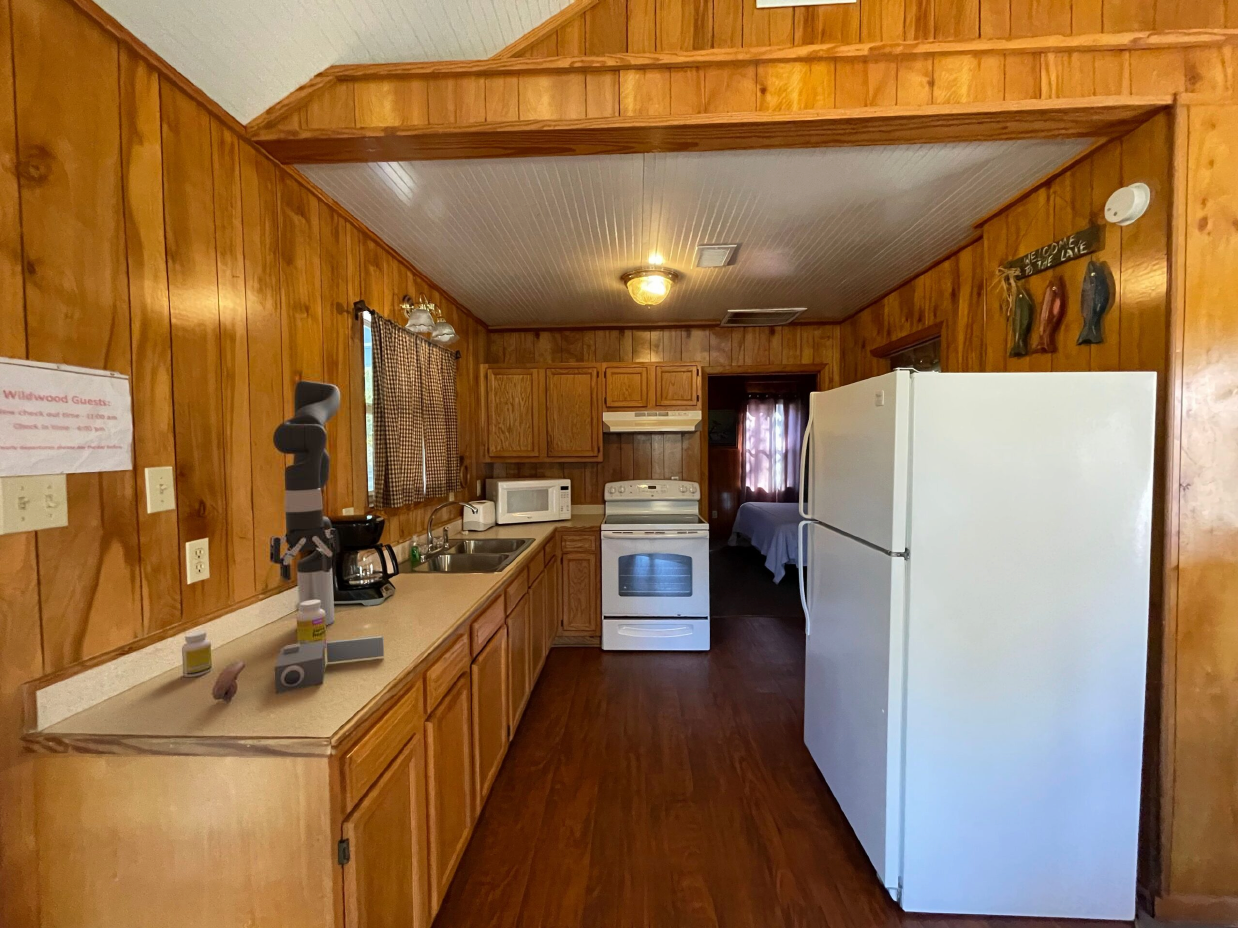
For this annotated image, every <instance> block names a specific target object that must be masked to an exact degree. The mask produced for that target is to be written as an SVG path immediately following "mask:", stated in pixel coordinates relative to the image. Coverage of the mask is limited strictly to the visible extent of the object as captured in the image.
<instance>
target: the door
mask: <svg viewBox="0 0 1238 928" xmlns="http://www.w3.org/2000/svg"><path fill="white" fill-rule="evenodd" d="M384 647H385V646H384V636H383V635H382V636H381V635H380V636H372V637H364V638H363V637H362V638H353V639H351V638H350V639H343V640H332V641H326V658H327V660H326V662H327V663H329V664H330V663H336V662H345V661H354V660H362V659H371V658H373V659H374V658H381V657H384V656H385V651H384Z"/></svg>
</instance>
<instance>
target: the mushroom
mask: <svg viewBox="0 0 1238 928" xmlns="http://www.w3.org/2000/svg"><path fill="white" fill-rule="evenodd" d="M245 667H246V664H245V662H243V661H241V660H240V661H234V662H232V663H230V664H228V665H227V666H226V667H225V668H224V669H223V670H222V671H221V672H220V674H219V675H218V677H217V679H216V681H215V684H214V685H213V687H212V692H211V695H212V697H213V699H215V701H216V700H217V701H220V700H222V701H224V702H225V703H227V704H228V703H230V702H231V701H232V699H233V698H234V696H235V695H236V693H237V690H238V688H239V687H238V682H237V681H236V680H237V678H238V676H239V675H240V673H241V672H242V671H243V669H245Z"/></svg>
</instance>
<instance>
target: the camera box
mask: <svg viewBox="0 0 1238 928" xmlns="http://www.w3.org/2000/svg"><path fill="white" fill-rule="evenodd" d="M325 647H326V646H325V645H324V641H318V642H313V643H307V644H301V645H300V643H298V642H297V643H293V644H289V645H285V646H284V647H281V649H280V651H279V654H278V656H277V660H276V662H275V665H274V674H275V675H274V678H275V694H279V693H284V692H289V691H293V690H298V689H303V688H307V687H312V686H317V685H321V684H324V677H325V672H326V671H325V670H326V651H325V650H326V648H325Z"/></svg>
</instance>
